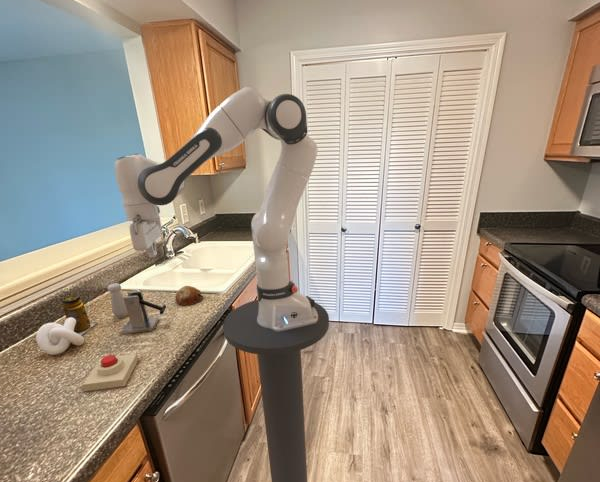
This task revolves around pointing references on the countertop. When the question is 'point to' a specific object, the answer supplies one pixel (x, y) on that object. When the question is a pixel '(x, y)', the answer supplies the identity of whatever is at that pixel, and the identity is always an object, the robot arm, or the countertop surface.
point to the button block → (111, 373)
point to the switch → (151, 304)
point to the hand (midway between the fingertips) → (153, 256)
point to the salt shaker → (117, 301)
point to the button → (108, 361)
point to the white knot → (58, 336)
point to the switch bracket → (137, 315)
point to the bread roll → (188, 295)
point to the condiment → (77, 314)
